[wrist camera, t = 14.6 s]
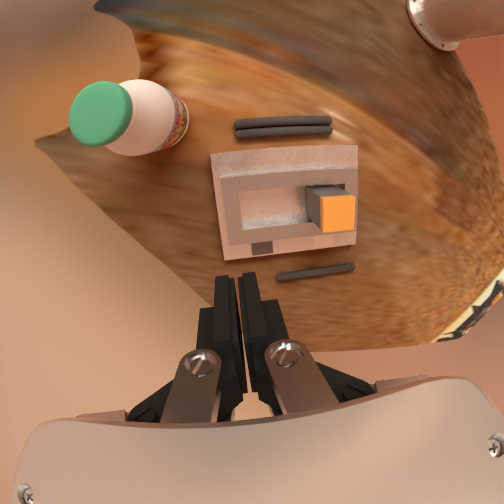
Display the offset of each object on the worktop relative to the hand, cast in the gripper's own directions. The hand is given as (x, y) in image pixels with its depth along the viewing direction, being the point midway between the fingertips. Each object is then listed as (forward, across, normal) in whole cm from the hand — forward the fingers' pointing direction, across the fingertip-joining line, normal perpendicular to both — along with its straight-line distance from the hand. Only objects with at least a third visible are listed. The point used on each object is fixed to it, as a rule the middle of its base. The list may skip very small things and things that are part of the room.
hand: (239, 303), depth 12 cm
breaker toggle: (+25, -12, +3) cm, 28 cm away
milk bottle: (+27, +8, -10) cm, 30 cm away
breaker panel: (+27, -8, +3) cm, 28 cm away
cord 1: (+27, -8, -8) cm, 29 cm away
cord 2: (+27, -12, +15) cm, 33 cm away
